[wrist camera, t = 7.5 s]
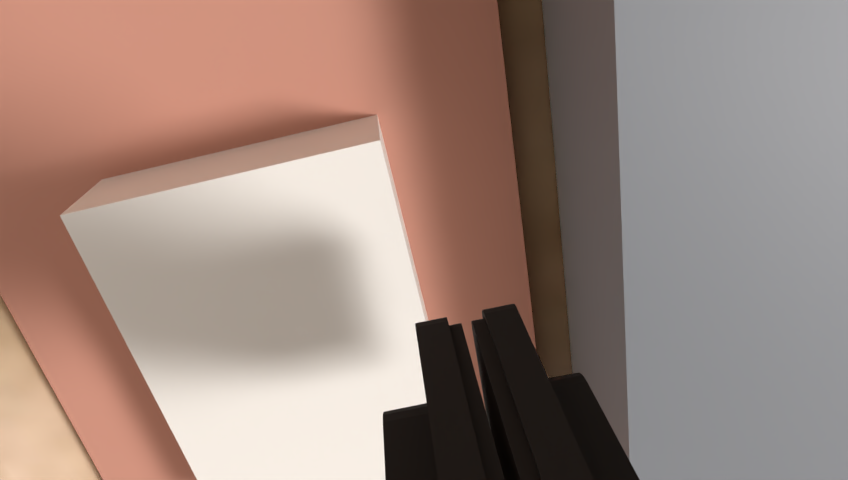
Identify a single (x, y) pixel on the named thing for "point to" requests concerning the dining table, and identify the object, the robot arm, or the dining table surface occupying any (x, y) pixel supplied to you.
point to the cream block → (265, 300)
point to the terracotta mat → (230, 128)
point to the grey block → (707, 228)
